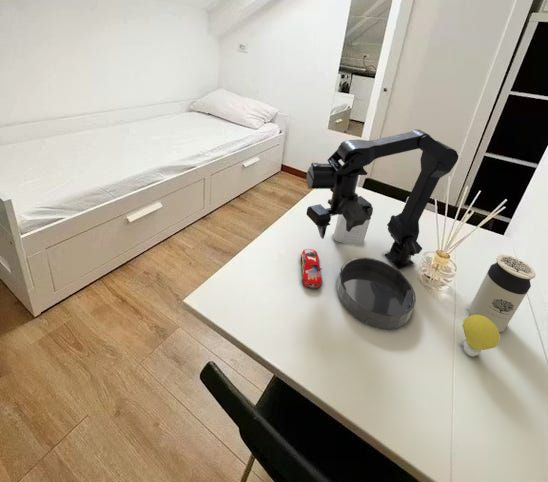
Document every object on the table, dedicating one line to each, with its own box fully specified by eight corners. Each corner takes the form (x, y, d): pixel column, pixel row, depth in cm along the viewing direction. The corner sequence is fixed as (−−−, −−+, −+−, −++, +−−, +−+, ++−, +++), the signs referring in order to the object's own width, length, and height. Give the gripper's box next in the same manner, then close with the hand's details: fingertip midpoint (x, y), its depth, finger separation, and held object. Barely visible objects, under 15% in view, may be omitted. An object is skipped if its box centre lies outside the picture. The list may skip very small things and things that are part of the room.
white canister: (470, 300, 81) (496, 248, 73) (505, 318, 76) (536, 265, 69) (466, 318, 75) (494, 265, 68) (503, 339, 70) (537, 284, 63)
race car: (321, 291, 78) (324, 280, 76) (301, 289, 78) (303, 278, 77) (317, 256, 90) (319, 246, 89) (300, 254, 90) (302, 244, 89)
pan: (375, 262, 90) (378, 251, 89) (427, 314, 75) (432, 302, 73) (323, 278, 82) (326, 266, 81) (369, 340, 67) (374, 327, 65)
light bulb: (487, 373, 62) (506, 342, 59) (452, 354, 66) (468, 324, 62) (485, 348, 68) (503, 318, 64) (453, 331, 71) (468, 302, 67)
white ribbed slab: (362, 238, 101) (370, 208, 96) (364, 246, 97) (373, 215, 92) (332, 234, 101) (339, 204, 96) (333, 242, 97) (340, 211, 93)
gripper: (334, 210, 68) (324, 261, 74) (392, 197, 75) (379, 244, 82) (309, 187, 77) (302, 234, 83) (363, 177, 84) (353, 222, 91)
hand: (335, 234), depth 84 cm, fingers open, 9 cm apart
